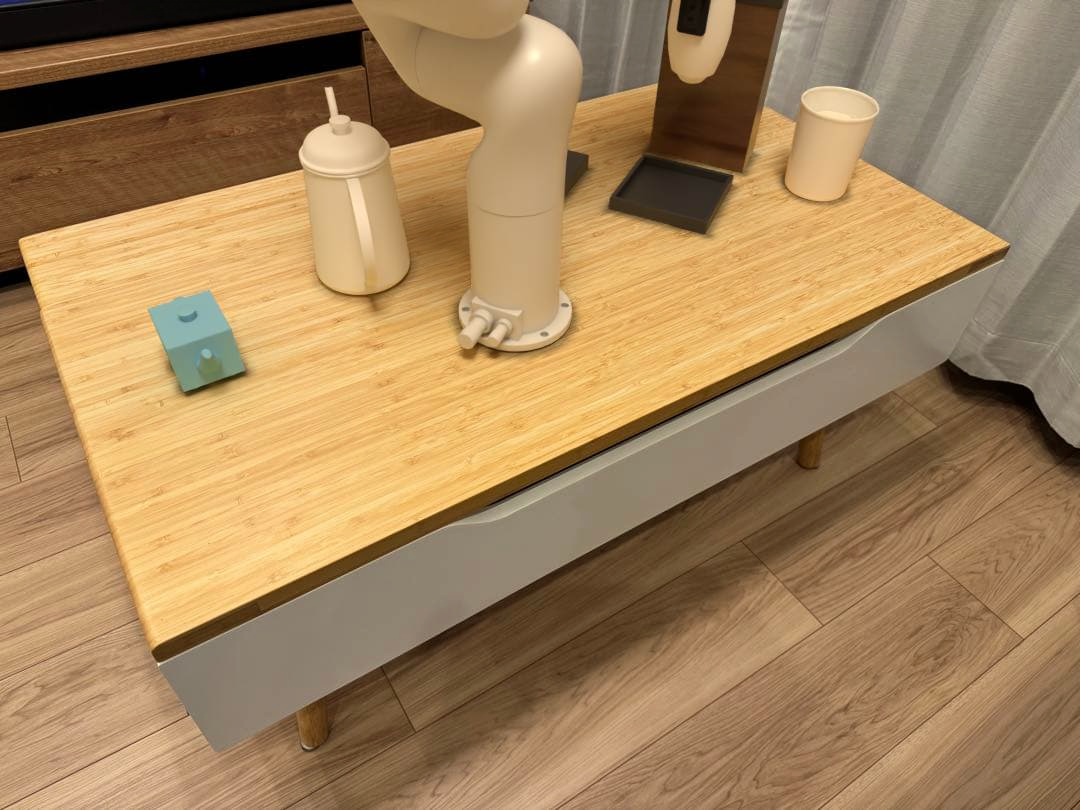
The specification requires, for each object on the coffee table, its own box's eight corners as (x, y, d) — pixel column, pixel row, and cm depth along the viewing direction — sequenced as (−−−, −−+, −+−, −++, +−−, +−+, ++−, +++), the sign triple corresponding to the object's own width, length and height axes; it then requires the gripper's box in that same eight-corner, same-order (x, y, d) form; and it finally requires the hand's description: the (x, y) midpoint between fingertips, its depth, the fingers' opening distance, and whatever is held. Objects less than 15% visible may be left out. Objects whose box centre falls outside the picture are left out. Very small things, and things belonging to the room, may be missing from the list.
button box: (553, 209, 102) (555, 182, 100) (486, 191, 105) (485, 164, 102) (588, 169, 110) (590, 142, 107) (524, 153, 113) (524, 127, 110)
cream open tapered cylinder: (807, 211, 104) (834, 125, 95) (764, 176, 110) (785, 92, 101) (865, 196, 107) (896, 112, 98) (820, 163, 113) (845, 81, 104)
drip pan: (705, 234, 99) (707, 222, 98) (608, 209, 103) (609, 197, 102) (731, 186, 108) (734, 174, 106) (641, 164, 111) (642, 153, 110)
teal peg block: (258, 397, 77) (239, 339, 72) (196, 420, 75) (171, 362, 69) (222, 329, 84) (202, 272, 79) (164, 349, 82) (139, 291, 76)
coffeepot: (391, 207, 102) (372, 62, 88) (430, 325, 85) (415, 168, 72) (306, 219, 99) (274, 71, 86) (330, 343, 83) (294, 184, 69)
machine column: (743, 174, 110) (784, -5, 93) (647, 151, 114) (670, -25, 97) (753, 154, 114) (795, -21, 98) (660, 133, 118) (685, -39, 101)
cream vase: (661, 168, 98) (687, -11, 83) (644, 141, 102) (666, -32, 88) (715, 163, 99) (751, -14, 84) (696, 136, 104) (726, -35, 89)
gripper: (747, -147, 70) (711, 55, 83) (788, -179, 81) (750, 4, 94) (667, -157, 72) (644, 42, 85) (718, -186, 83) (690, -7, 96)
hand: (700, 20), depth 89 cm, fingers closed on cream vase, 7 cm apart
